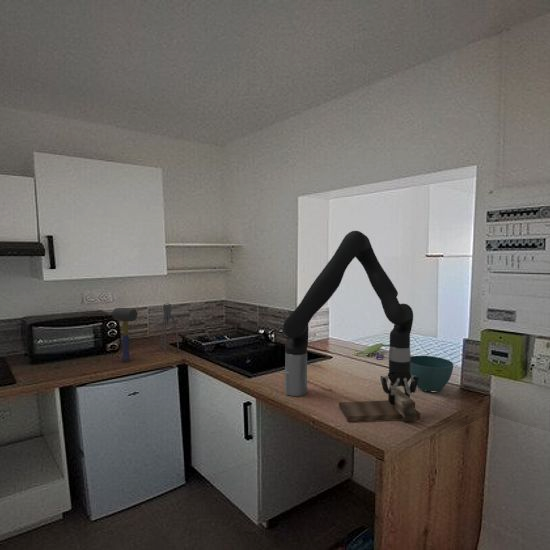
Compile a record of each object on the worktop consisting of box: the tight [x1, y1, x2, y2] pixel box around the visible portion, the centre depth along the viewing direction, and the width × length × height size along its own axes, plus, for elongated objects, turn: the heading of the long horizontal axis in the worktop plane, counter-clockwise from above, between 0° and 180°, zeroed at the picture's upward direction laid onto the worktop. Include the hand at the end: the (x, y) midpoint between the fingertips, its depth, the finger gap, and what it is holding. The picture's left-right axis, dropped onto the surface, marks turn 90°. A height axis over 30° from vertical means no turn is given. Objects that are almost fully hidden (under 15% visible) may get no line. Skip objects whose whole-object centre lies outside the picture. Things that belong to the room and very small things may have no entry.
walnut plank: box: [338, 399, 421, 422], centre depth 131 cm, size 26×12×2 cm, turn 95°
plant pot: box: [410, 355, 454, 392], centre depth 154 cm, size 18×18×12 cm
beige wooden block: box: [388, 387, 416, 422], centre depth 130 cm, size 4×14×6 cm, turn 5°
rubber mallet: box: [111, 307, 138, 362], centre depth 198 cm, size 12×8×30 cm, turn 70°
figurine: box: [354, 342, 390, 359], centre depth 210 cm, size 18×27×6 cm
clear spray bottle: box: [160, 302, 180, 355], centre depth 217 cm, size 10×11×30 cm
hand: (399, 403), depth 131 cm, fingers open, 5 cm apart
